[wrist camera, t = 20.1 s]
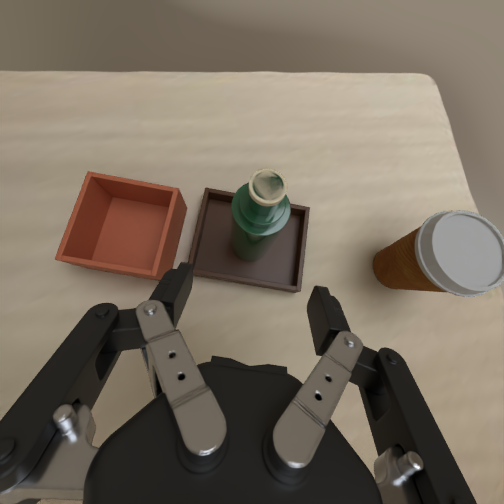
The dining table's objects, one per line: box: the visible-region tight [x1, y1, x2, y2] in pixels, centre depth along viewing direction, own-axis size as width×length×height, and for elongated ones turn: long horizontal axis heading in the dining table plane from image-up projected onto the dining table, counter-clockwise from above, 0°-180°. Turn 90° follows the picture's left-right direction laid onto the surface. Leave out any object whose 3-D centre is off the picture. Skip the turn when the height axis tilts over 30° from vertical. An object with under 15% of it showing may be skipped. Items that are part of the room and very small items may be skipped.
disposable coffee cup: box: [373, 210, 504, 297], centre depth 30 cm, size 10×10×12 cm
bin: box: [55, 171, 187, 280], centre depth 30 cm, size 11×11×6 cm
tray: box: [188, 188, 310, 293], centre depth 33 cm, size 15×12×3 cm
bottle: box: [231, 169, 291, 262], centre depth 26 cm, size 6×6×16 cm
